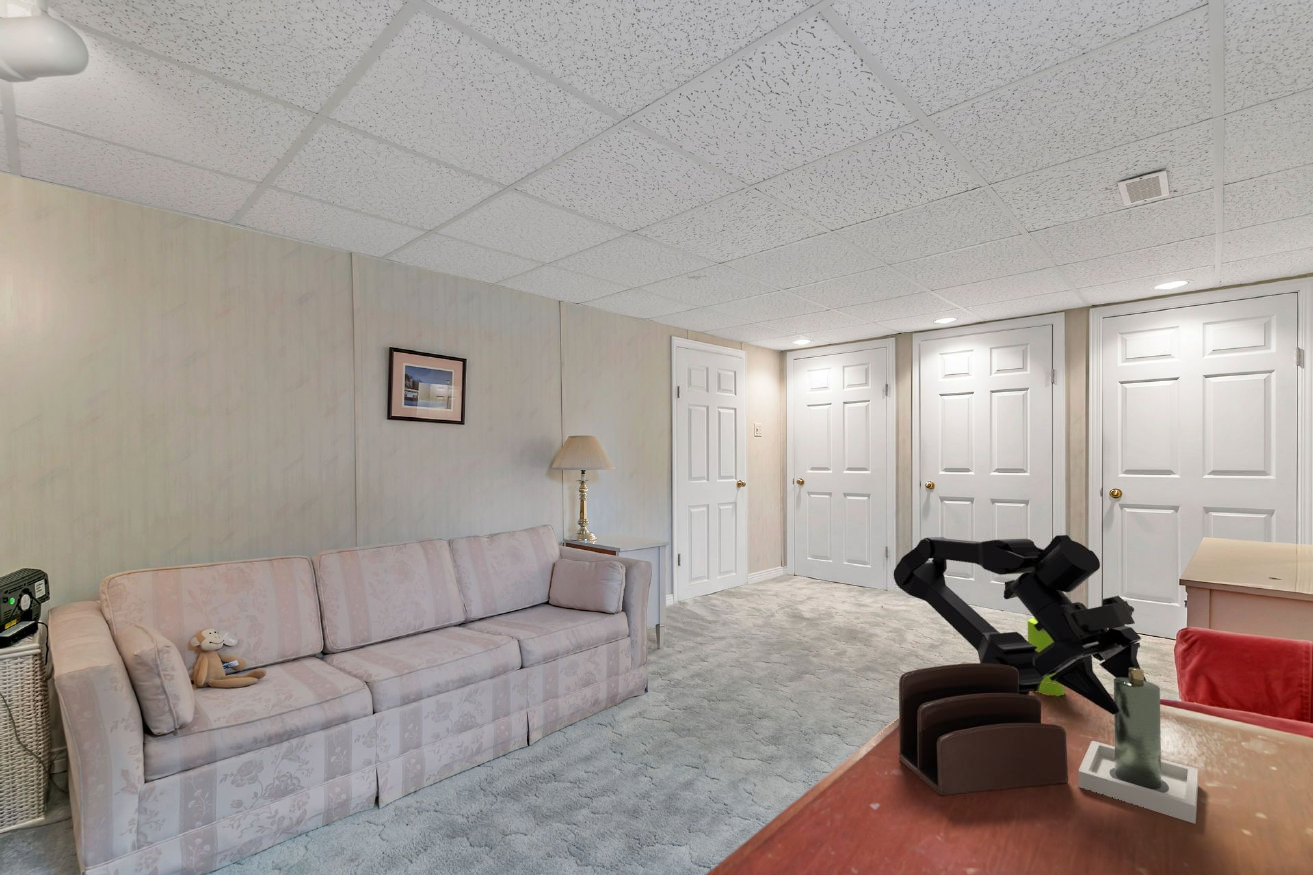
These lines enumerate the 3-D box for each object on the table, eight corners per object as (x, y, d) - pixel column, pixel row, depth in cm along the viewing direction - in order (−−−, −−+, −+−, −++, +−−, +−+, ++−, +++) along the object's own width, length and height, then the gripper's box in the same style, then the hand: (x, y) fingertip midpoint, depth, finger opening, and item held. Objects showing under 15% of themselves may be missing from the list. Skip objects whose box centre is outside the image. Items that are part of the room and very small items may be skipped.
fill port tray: (1078, 786, 83) (1078, 770, 83) (1092, 755, 92) (1091, 740, 92) (1195, 823, 75) (1195, 805, 75) (1198, 784, 84) (1197, 768, 84)
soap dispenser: (1076, 697, 113) (1075, 590, 114) (1035, 694, 115) (1034, 588, 115) (1062, 685, 119) (1060, 583, 120) (1023, 683, 120) (1022, 582, 121)
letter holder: (897, 760, 90) (897, 665, 91) (1016, 750, 94) (1014, 658, 94) (939, 797, 81) (938, 691, 81) (1069, 785, 84) (1068, 682, 84)
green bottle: (1105, 770, 85) (1104, 663, 86) (1137, 768, 86) (1135, 662, 86) (1138, 790, 81) (1136, 676, 81) (1171, 787, 81) (1169, 675, 82)
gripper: (1053, 584, 85) (1147, 691, 75) (1125, 572, 93) (1218, 667, 83) (1000, 626, 92) (1079, 729, 82) (1071, 611, 100) (1151, 703, 90)
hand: (1134, 706), depth 84 cm, fingers open, 9 cm apart
